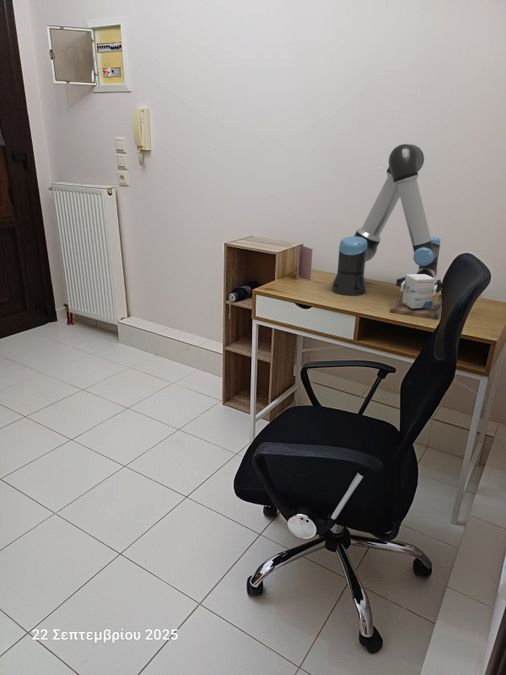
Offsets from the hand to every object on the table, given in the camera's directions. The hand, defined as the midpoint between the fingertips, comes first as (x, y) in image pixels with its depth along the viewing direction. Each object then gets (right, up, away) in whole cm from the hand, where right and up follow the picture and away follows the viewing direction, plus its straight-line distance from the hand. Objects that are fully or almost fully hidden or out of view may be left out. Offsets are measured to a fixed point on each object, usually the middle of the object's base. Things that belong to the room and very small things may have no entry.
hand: (417, 290), depth 186 cm
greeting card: (-38, +11, +53) cm, 67 cm away
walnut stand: (+1, -8, +7) cm, 10 cm away
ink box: (+1, -6, +6) cm, 8 cm away
